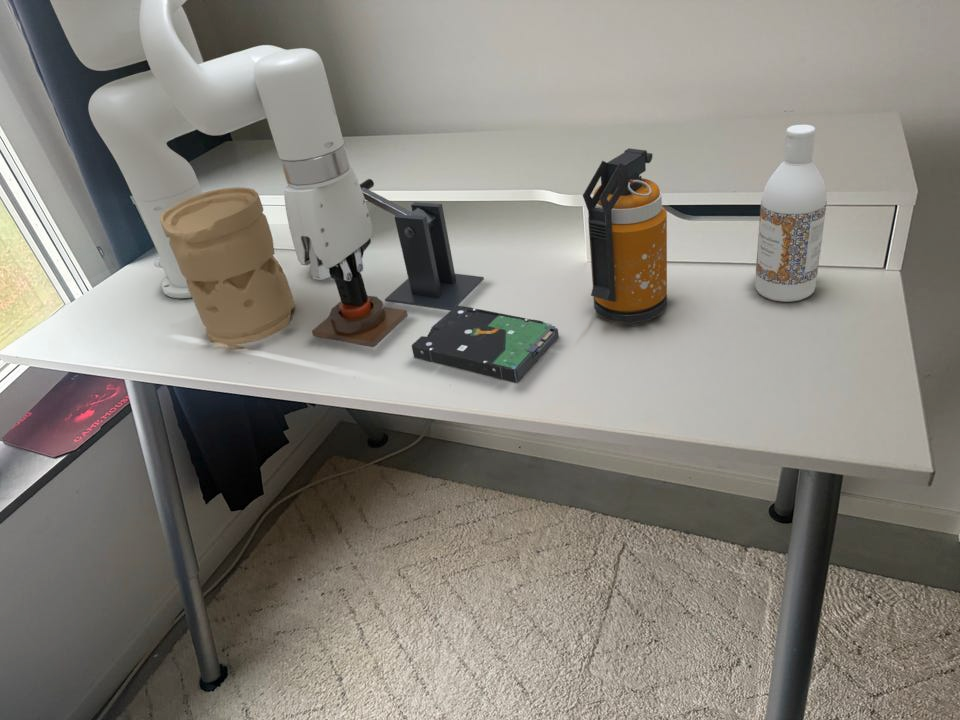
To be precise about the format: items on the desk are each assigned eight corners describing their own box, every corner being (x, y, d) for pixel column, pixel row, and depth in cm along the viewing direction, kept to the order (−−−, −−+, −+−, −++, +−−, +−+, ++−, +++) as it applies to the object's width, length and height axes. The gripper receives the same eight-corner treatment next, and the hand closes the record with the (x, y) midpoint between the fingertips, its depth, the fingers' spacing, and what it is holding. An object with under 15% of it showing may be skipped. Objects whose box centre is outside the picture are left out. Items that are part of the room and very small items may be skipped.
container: (269, 352, 95) (222, 226, 85) (191, 348, 99) (138, 227, 89) (313, 303, 104) (276, 185, 94) (241, 301, 108) (198, 188, 99)
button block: (314, 341, 95) (307, 319, 93) (350, 311, 101) (344, 289, 99) (375, 353, 91) (368, 329, 89) (409, 320, 96) (404, 298, 94)
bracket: (386, 306, 101) (365, 221, 93) (420, 276, 107) (402, 194, 100) (453, 316, 95) (436, 227, 88) (484, 284, 102) (471, 199, 95)
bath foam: (742, 287, 91) (752, 129, 80) (786, 270, 93) (802, 114, 82) (781, 309, 85) (798, 143, 74) (827, 291, 87) (851, 127, 76)
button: (336, 320, 94) (332, 308, 93) (354, 305, 97) (351, 293, 96) (361, 324, 92) (357, 312, 91) (378, 309, 95) (375, 296, 94)
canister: (680, 301, 90) (682, 144, 79) (631, 343, 84) (625, 180, 73) (620, 285, 96) (613, 136, 85) (570, 323, 90) (556, 169, 79)
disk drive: (414, 365, 87) (519, 389, 80) (409, 346, 86) (516, 369, 78) (459, 322, 94) (561, 341, 87) (455, 303, 93) (558, 321, 85)
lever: (342, 204, 96) (343, 188, 94) (366, 188, 100) (367, 173, 98) (417, 244, 94) (420, 229, 92) (438, 226, 97) (442, 211, 96)
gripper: (330, 143, 90) (365, 273, 100) (248, 189, 80) (296, 328, 90) (378, 143, 87) (409, 278, 97) (299, 191, 76) (343, 336, 86)
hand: (355, 302), depth 93 cm, fingers closed
